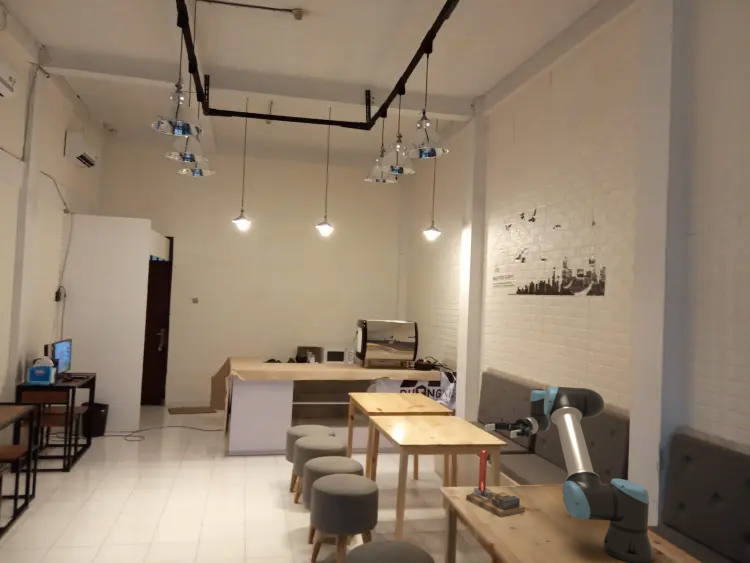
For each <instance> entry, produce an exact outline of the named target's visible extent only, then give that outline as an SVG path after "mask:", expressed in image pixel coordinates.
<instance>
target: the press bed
mask: <svg viewBox="0 0 750 563" xmlns="http://www.w3.org/2000/svg"><path fill="white" fill-rule="evenodd" d="M490 491H491V490H490ZM491 492H493V491H491ZM495 493H496V492H493V498H486V497H484V496H481V495H479V494H477V493H475V492H474V491H473V492H471V493H468V494H466V495H465V496H466V497H465V500H466V499H467V500H466V501H468V500H469V501H468V502H470V501H471V502H470V503H472V502H473V503H472V504H474V503H475V504H474V505H476V504H477V505H476V506H478V505H479V506H478V507H480V506H481V507H482V509H483V508H484V510H485V509H486V510H485V511H487V512H489V511H490V512H489V513H491V514H493V515H495V516H497V517H500V518H503V517H509V516H513V515H518V514H522V513H525V512H526V511H525V510H526V508H525V506H524V505H522V504H520V503H521V502H520V499H521V497H518V496H516V495H510V497H505V498H499V500H496V499H495ZM481 507H480V508H481Z"/></svg>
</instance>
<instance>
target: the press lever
mask: <svg viewBox="0 0 750 563" xmlns="http://www.w3.org/2000/svg"><path fill="white" fill-rule="evenodd" d="M478 457H479V468H478V470H479V471H478V487H474V488H473V492H475V493H477V494H479V495H481V496H484V497H486V498H493V491H492V492H491V489H489V488H487V470H488V469H487V468H488V458H489V452H488V451H487V449H481V450H480V451H479V452H478Z"/></svg>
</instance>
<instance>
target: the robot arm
mask: <svg viewBox="0 0 750 563" xmlns="http://www.w3.org/2000/svg"><path fill="white" fill-rule="evenodd" d="M529 406H530V407H529V409H530V410H529V417H524V418H523V417H522V418H518V419H517V420H516V421H515V422H509V421H505V422H503V421H498V422H497V421H496V422H495V421H492V422H491V421H489V424H485V425H484V432H490V431H491V432H494V431H495V430H499V431H500V430H503V431H508V432H510V439H514V438H518V437H519V438H520V437H522V438H523V437H526V438H529V437H530V436H531V435H534V434H539V433H540V434H542V433H545V432H547V431H548V430H549V429H550V428H551V421H552V423H553V424H554V425H556V426H557V427H556V428H557V431H558V436H559V440H560V444H561V449H562V453H563V457H564V461H565V466H566V471H567V475H568V476H567V477H566V479H565V481H564V483H563V484H562V489H561V490H562V493H561V494H562V500H563V503H564V507H565V509H566V512H567V513H568V514H569V515H570V516H571V517H572V518H575V519H582V520H583V521H586V520H592V521H593V520H594V521H605V522H606V521H607V522H608V521H609V527H608V529H607V531H606V534H605V536H604V539H603V546H602V547H603V548H602V549H603V550H604V552H605V553H607V554H608V555H610V556H611V557H613V558H616V559H619V560H622V561H624V562H628V563H650V562H652V561H653V559H654V558H653V557H654V551H653V548H652V544H651V541H650V537H649V532H648V531H649V510H650V509H649V508H650V507H649V506H650V501H649V500H650V499H649V497H650V496H649V491H648V489H646V488H645V487H644V486H643V485H641V484H639V483H636V482H634V481H631V480H627V479H622V478H612V479H611V481H610V483H602V481H601V478H600V477H601V476H599V474H598V473H596V472H594V468H593V465H592V461H591V457H590V454H589V451H588V450H589V449H588V447H587V444H586V443H587V442H586V440H585V436H584V432H583V429H582V425H581V420H582V419H583V418H584V419H587V418H588V419H590V418H595V417H597V416H599V415H601V413H603V411H604V409H605V401H604V398H603V397H602V395H601V394H600V393H598V392H597V391H596V390H593V389H590V388H585V387H583V388H581V387H569V386H568V387H567V386H559V385H558V386H549V387H547V389H546V390H539V389H538V390H537V389H534V390H532V391H531V392H530V398H529ZM549 417H550V419H551V421H550V419H549Z"/></svg>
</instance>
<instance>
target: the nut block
mask: <svg viewBox="0 0 750 563" xmlns="http://www.w3.org/2000/svg"><path fill="white" fill-rule="evenodd" d="M494 493H495V499H496V500H499V498H505V497H510V496H511V494H508V493H506V492H504V491H498V492H494Z"/></svg>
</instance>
